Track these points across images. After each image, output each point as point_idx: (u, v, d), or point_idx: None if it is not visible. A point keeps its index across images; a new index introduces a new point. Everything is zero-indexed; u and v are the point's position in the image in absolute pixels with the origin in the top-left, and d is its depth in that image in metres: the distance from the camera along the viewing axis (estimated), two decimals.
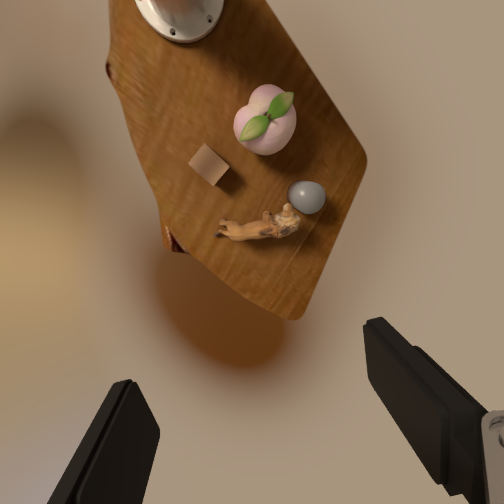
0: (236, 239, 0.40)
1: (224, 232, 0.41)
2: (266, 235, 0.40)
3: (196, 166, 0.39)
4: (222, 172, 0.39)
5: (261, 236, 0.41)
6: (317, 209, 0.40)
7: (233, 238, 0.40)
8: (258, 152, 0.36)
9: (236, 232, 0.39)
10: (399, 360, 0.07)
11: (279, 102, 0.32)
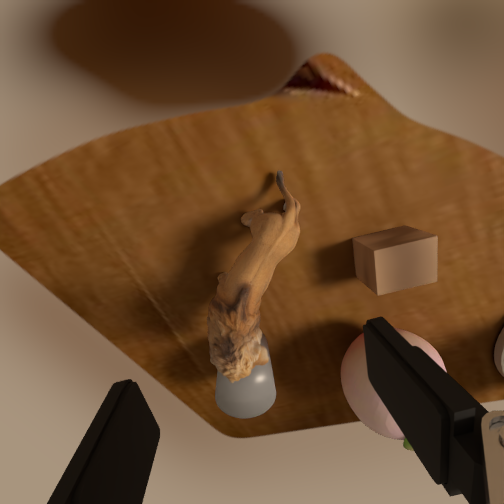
0: (268, 232, 0.16)
1: (294, 213, 0.17)
2: (233, 293, 0.17)
3: (422, 245, 0.19)
4: (379, 279, 0.20)
5: (237, 282, 0.17)
6: (218, 397, 0.20)
7: (274, 227, 0.16)
8: None
9: (284, 243, 0.16)
10: (399, 360, 0.07)
11: None
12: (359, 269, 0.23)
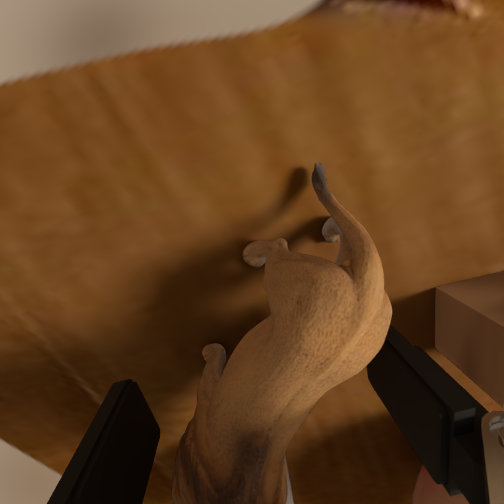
0: (318, 324, 0.06)
1: None
2: (227, 451, 0.07)
3: None
4: None
5: (236, 425, 0.07)
6: None
7: (335, 310, 0.06)
8: None
9: (361, 352, 0.06)
10: (399, 360, 0.07)
11: None
12: (448, 341, 0.13)
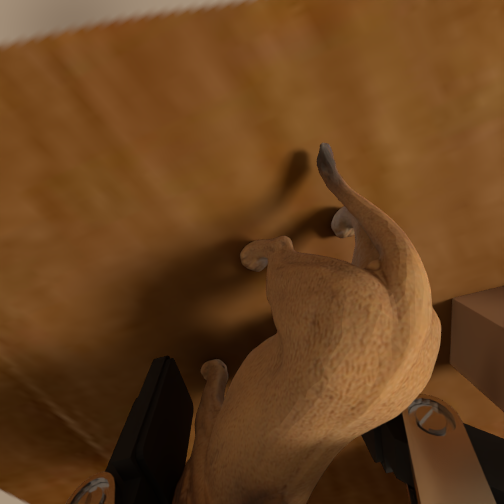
0: (346, 354, 0.04)
1: None
2: None
3: None
4: None
5: (241, 481, 0.06)
6: None
7: (369, 334, 0.04)
8: None
9: (408, 390, 0.04)
10: None
11: None
12: (466, 358, 0.12)
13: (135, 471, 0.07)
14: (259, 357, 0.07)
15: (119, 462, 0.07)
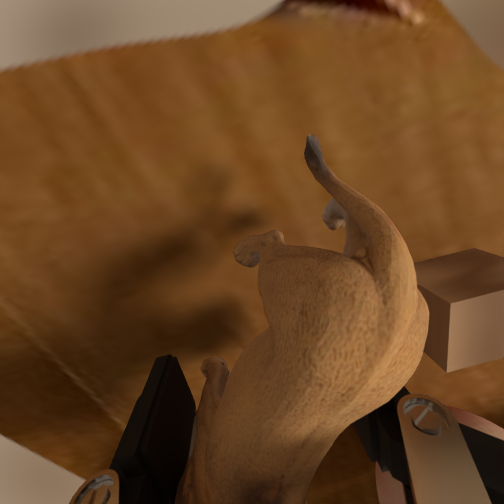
0: (333, 342, 0.04)
1: None
2: None
3: None
4: (453, 348, 0.12)
5: (240, 473, 0.06)
6: None
7: (355, 321, 0.04)
8: None
9: (396, 374, 0.04)
10: None
11: None
12: None
13: (139, 469, 0.07)
14: (253, 351, 0.07)
15: (123, 460, 0.07)
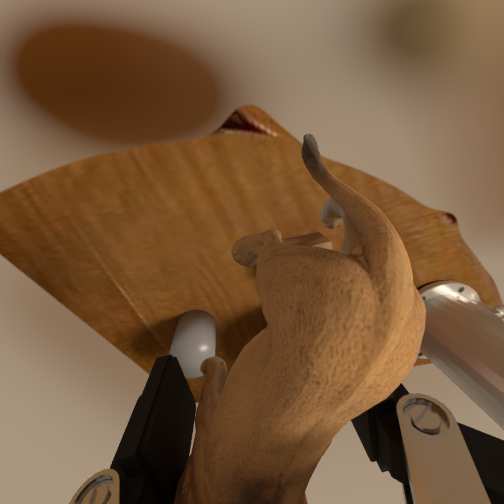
0: (330, 339, 0.04)
1: None
2: None
3: None
4: None
5: (238, 472, 0.06)
6: None
7: (351, 318, 0.04)
8: None
9: (392, 370, 0.04)
10: None
11: None
12: None
13: (139, 468, 0.07)
14: (251, 350, 0.07)
15: (124, 459, 0.07)
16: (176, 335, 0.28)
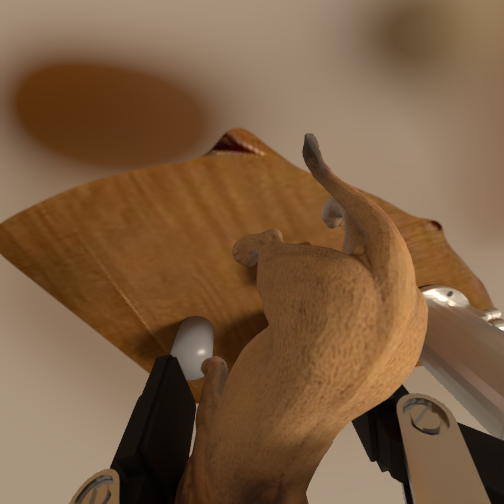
0: (332, 339, 0.04)
1: None
2: None
3: None
4: None
5: (239, 472, 0.06)
6: None
7: (353, 318, 0.04)
8: None
9: (396, 371, 0.04)
10: None
11: None
12: None
13: (139, 468, 0.07)
14: (252, 349, 0.07)
15: (124, 459, 0.07)
16: (176, 340, 0.30)
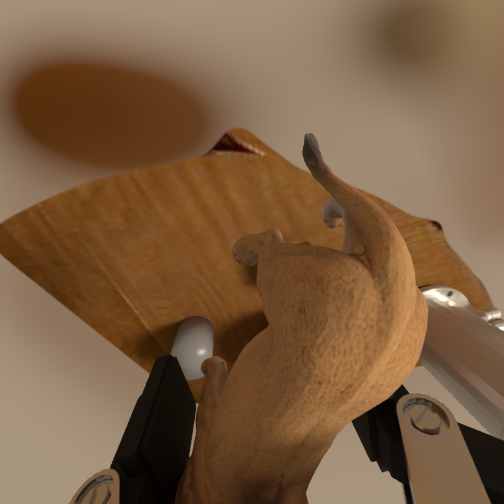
0: (332, 339, 0.04)
1: None
2: None
3: None
4: None
5: (239, 472, 0.06)
6: None
7: (353, 318, 0.04)
8: None
9: (396, 371, 0.04)
10: None
11: None
12: None
13: (139, 468, 0.07)
14: (252, 349, 0.07)
15: (124, 459, 0.07)
16: (176, 340, 0.30)
